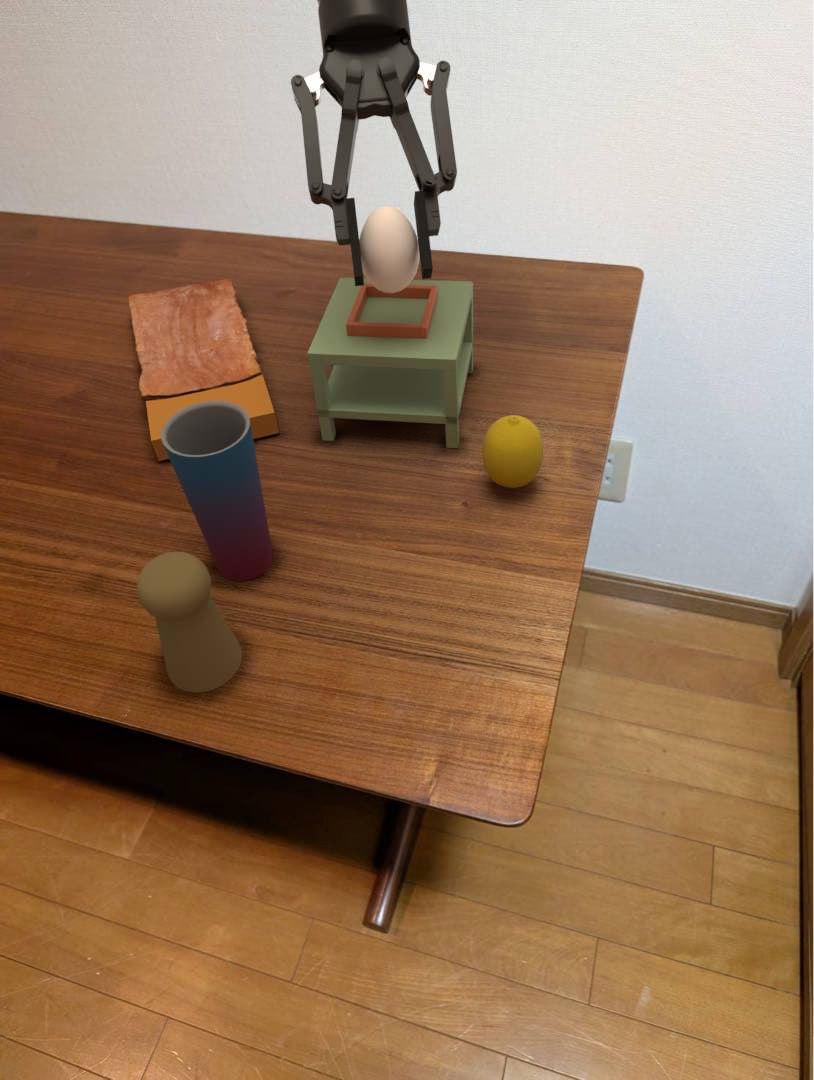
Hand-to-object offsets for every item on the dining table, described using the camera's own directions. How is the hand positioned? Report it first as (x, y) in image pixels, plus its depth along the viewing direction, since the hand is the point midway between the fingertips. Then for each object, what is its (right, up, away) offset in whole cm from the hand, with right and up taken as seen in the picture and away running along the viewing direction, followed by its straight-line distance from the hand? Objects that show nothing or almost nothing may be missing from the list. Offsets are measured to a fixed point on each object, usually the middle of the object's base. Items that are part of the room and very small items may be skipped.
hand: (393, 276), depth 71 cm
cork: (-15, -32, -4) cm, 36 cm away
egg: (0, 0, +5) cm, 5 cm away
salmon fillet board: (-22, -3, +25) cm, 34 cm away
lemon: (+11, -17, +8) cm, 22 cm away
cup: (-13, -24, +4) cm, 28 cm away
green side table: (+1, -8, +18) cm, 20 cm away
